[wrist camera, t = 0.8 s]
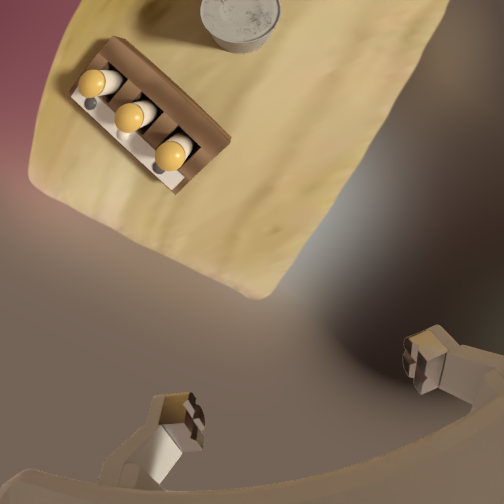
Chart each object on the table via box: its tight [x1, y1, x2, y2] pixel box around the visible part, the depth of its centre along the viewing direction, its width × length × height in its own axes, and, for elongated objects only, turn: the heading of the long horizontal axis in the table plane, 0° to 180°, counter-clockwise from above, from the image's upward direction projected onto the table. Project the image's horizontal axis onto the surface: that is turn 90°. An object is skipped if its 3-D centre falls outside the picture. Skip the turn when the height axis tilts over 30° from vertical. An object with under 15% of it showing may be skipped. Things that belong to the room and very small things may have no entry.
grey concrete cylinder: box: [200, 0, 281, 54], centre depth 31 cm, size 10×10×12 cm
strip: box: [71, 87, 184, 190], centre depth 40 cm, size 3×24×1 cm, turn 42°
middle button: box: [114, 100, 158, 133], centre depth 37 cm, size 4×4×8 cm
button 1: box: [78, 70, 124, 98], centre depth 34 cm, size 4×4×8 cm
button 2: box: [155, 133, 193, 171], centre depth 40 cm, size 4×4×8 cm
